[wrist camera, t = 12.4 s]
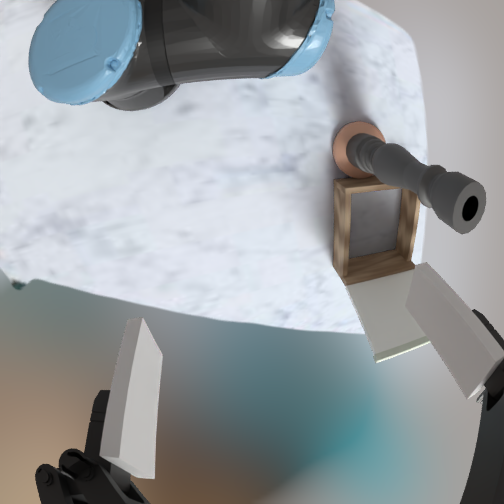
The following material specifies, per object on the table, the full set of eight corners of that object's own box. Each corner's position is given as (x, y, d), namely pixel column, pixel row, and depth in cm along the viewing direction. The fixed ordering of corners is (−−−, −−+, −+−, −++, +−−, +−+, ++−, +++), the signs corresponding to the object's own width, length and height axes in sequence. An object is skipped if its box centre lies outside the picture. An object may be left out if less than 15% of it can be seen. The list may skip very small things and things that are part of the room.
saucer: (331, 122, 41) (333, 122, 40) (382, 121, 41) (386, 122, 40) (333, 179, 46) (336, 181, 45) (382, 174, 46) (385, 176, 45)
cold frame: (333, 179, 46) (366, 205, 36) (406, 172, 47) (447, 195, 36) (331, 291, 59) (352, 331, 49) (393, 276, 60) (420, 310, 49)
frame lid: (344, 285, 49) (381, 347, 36) (415, 268, 50) (459, 317, 37) (343, 302, 51) (376, 364, 38) (411, 284, 52) (451, 334, 39)
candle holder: (349, 171, 44) (448, 244, 23) (342, 137, 41) (451, 186, 20) (379, 163, 44) (484, 226, 23) (374, 129, 41) (489, 173, 19)
